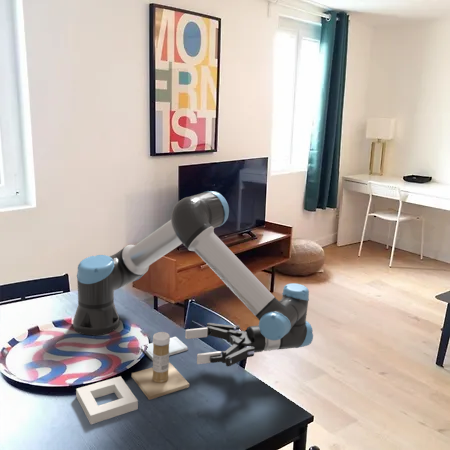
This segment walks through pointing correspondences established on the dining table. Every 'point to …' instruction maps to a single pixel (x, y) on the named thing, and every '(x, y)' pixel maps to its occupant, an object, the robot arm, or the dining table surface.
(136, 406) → the socket block
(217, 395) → the dining table surface
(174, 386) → the birch board
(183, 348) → the hard drive
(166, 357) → the sprinkles bottle
